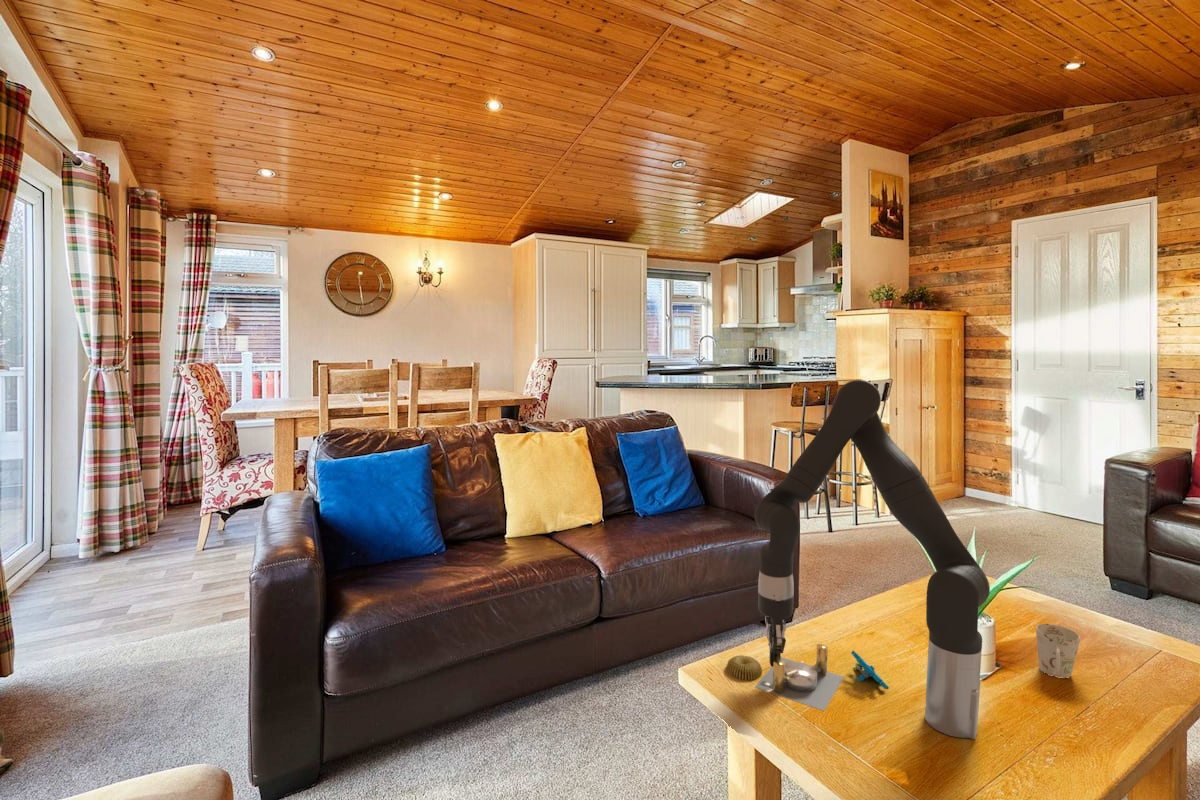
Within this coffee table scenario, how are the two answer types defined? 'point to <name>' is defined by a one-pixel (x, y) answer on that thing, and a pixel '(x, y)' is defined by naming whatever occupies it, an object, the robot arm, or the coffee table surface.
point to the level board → (812, 698)
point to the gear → (866, 670)
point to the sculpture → (744, 667)
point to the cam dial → (799, 672)
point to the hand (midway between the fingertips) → (774, 665)
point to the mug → (1056, 649)
